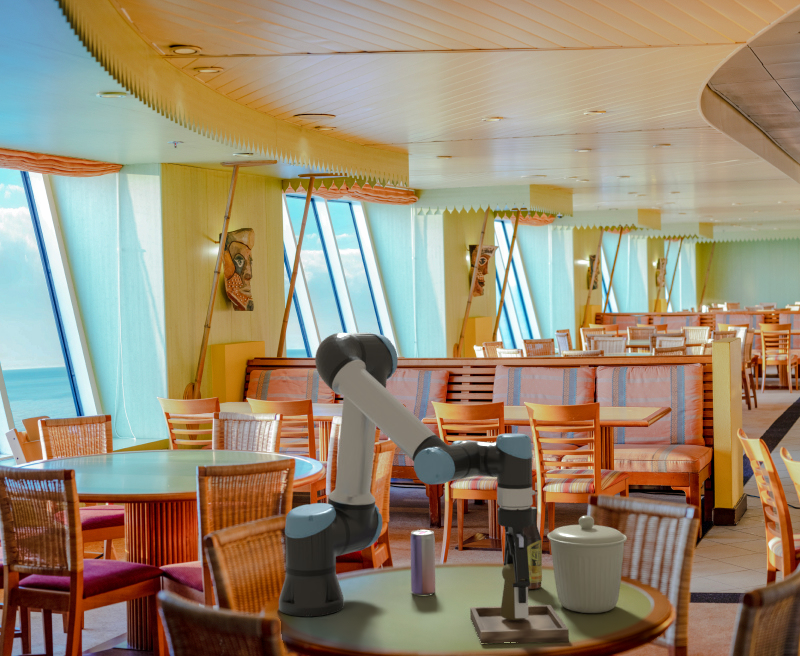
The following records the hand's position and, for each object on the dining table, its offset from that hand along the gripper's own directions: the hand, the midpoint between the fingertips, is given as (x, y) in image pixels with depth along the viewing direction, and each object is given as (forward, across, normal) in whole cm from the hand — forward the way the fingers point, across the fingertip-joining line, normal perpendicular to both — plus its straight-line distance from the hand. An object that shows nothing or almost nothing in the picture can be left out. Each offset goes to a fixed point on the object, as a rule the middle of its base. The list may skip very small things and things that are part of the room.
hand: (516, 609), depth 196 cm
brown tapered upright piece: (+2, +4, 0) cm, 4 cm away
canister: (+4, +15, -19) cm, 25 cm away
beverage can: (+4, +31, +18) cm, 36 cm away
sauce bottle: (+4, +34, -9) cm, 35 cm away
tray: (+4, 0, 0) cm, 4 cm away
